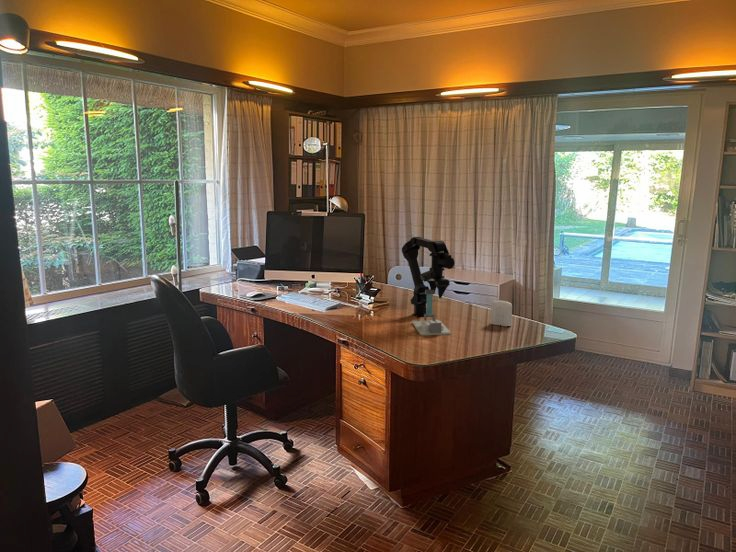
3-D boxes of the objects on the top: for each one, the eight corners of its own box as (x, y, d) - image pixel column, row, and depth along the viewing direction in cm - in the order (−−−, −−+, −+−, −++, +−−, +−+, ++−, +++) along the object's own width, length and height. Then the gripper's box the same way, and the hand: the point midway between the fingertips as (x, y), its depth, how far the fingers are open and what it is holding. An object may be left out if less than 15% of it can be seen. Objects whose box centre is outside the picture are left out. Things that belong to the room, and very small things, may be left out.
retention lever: (425, 316, 262) (425, 289, 260) (433, 316, 263) (433, 289, 260) (425, 317, 260) (426, 290, 258) (434, 317, 261) (434, 290, 258)
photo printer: (512, 325, 263) (513, 300, 261) (509, 327, 260) (510, 302, 257) (492, 322, 269) (493, 298, 267) (489, 324, 265) (490, 300, 263)
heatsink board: (412, 323, 270) (412, 310, 268) (439, 322, 271) (439, 309, 270) (421, 335, 248) (421, 322, 247) (450, 334, 249) (450, 321, 248)
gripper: (415, 263, 275) (415, 293, 278) (429, 269, 257) (428, 301, 260) (435, 262, 278) (435, 291, 281) (450, 268, 260) (449, 300, 263)
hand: (436, 296), depth 271 cm, fingers open, 9 cm apart
